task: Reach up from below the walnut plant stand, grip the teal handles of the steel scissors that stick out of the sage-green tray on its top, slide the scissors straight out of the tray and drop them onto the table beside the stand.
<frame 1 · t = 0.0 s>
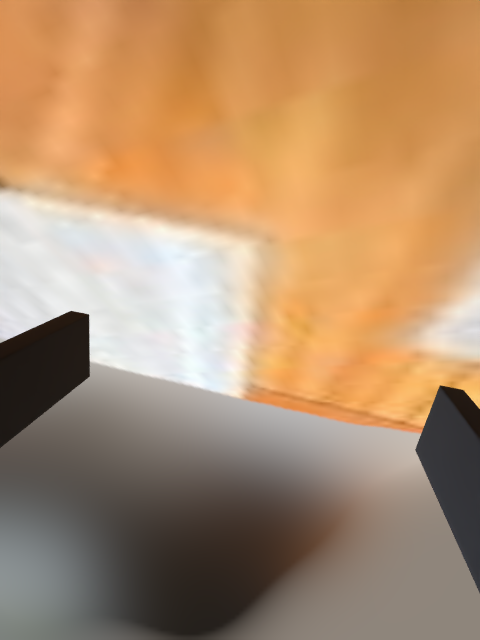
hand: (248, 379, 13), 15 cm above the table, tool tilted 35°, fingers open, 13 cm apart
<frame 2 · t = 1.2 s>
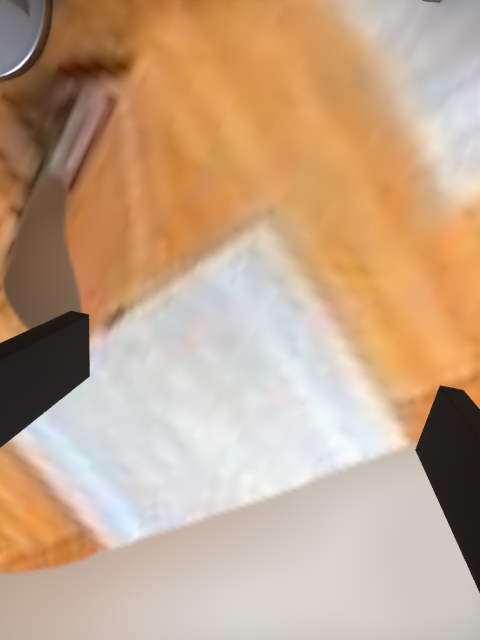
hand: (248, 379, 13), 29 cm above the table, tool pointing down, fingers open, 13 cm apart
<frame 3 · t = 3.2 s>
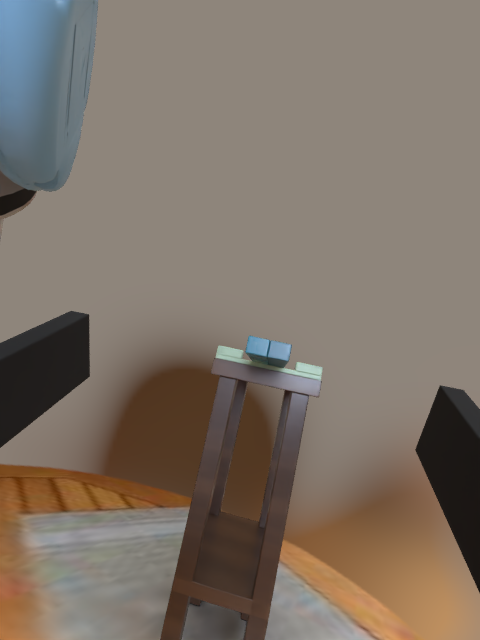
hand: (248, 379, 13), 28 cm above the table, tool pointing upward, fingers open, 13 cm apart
tray: (268, 372, 40), resting on stand
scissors: (268, 364, 32), point 30 cm above the table, touching tray
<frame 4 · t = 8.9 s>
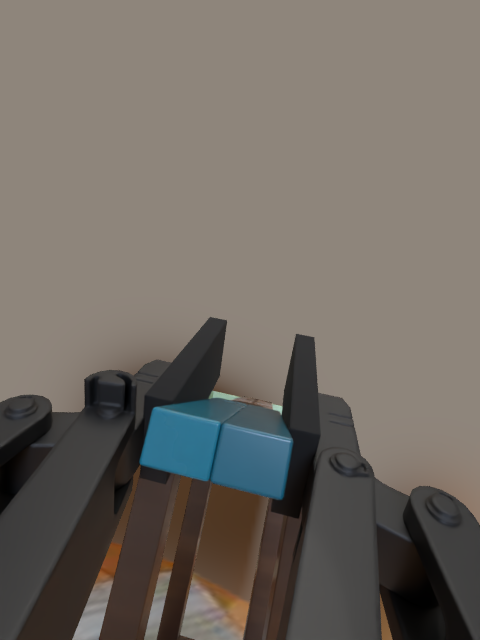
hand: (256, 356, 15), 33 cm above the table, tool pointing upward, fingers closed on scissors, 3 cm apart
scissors: (242, 430, 16), point 30 cm above the table, touching gripper, tray
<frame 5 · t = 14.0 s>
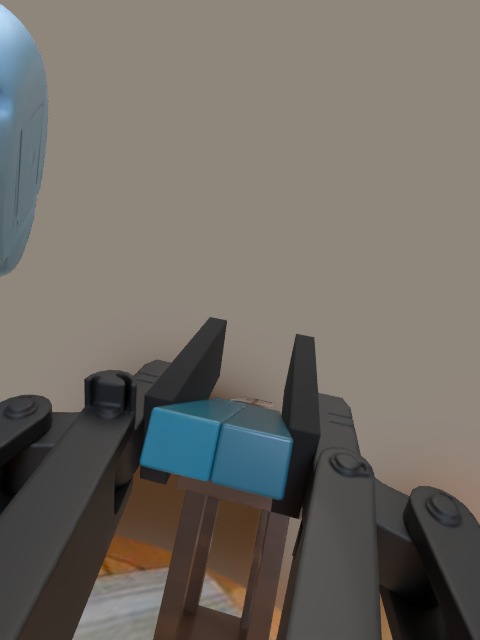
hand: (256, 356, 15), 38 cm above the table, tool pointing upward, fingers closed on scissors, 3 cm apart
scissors: (242, 430, 16), point 35 cm above the table, touching gripper
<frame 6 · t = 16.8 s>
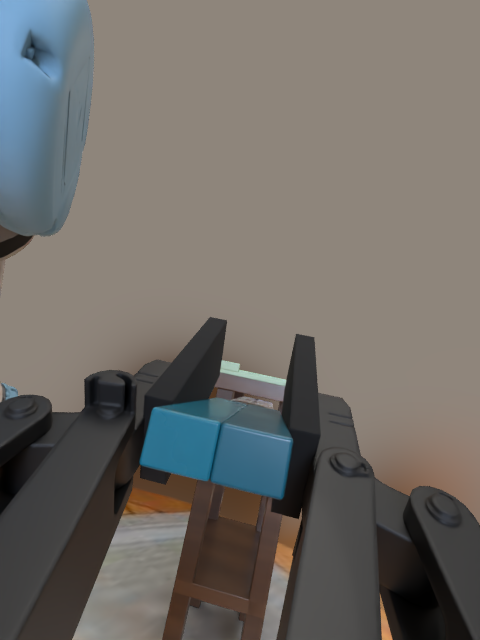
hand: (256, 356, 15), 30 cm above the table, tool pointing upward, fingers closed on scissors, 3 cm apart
tray: (263, 382, 42), resting on stand
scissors: (242, 430, 16), point 27 cm above the table, touching gripper
when the fingers open (23 cm above the table, at t = 19.2 s): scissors drops 19 cm, on the table.
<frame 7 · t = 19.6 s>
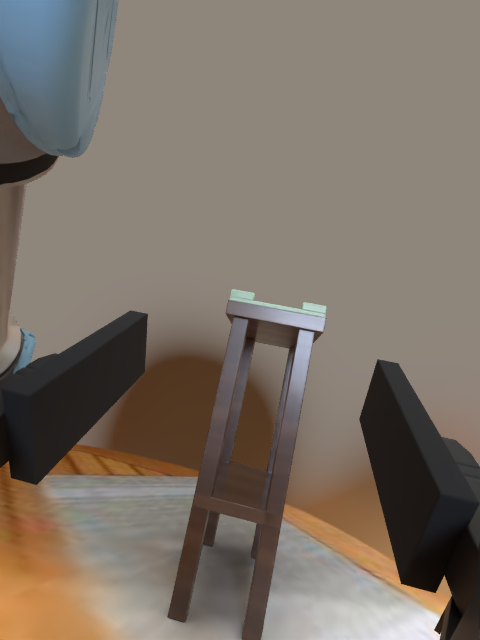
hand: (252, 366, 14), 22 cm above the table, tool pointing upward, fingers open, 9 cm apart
tray: (275, 324, 44), resting on stand
stand: (224, 580, 39), on the table
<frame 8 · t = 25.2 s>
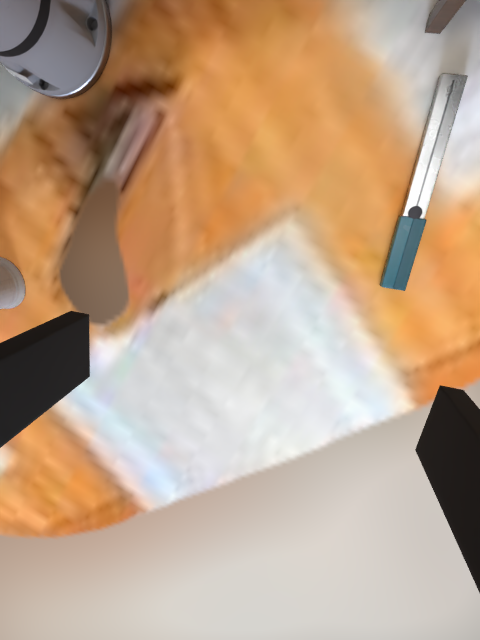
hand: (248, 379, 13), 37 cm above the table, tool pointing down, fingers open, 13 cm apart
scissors: (411, 217, 43), on the table
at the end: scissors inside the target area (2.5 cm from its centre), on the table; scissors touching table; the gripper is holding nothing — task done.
